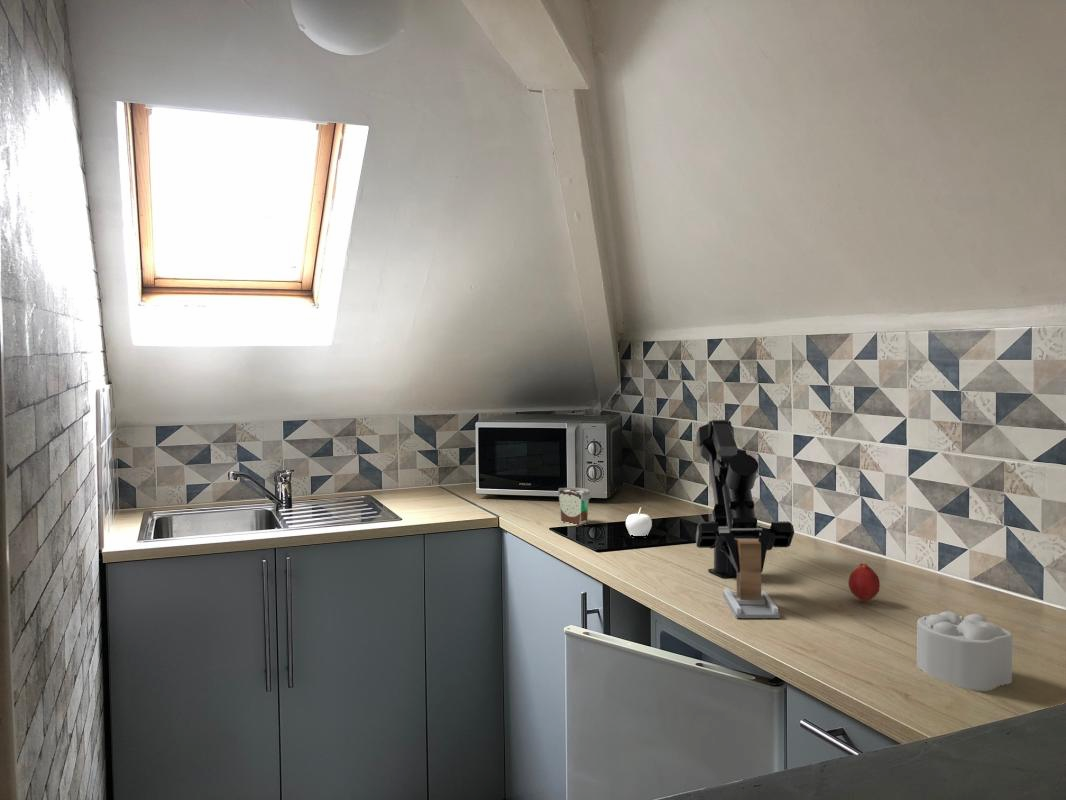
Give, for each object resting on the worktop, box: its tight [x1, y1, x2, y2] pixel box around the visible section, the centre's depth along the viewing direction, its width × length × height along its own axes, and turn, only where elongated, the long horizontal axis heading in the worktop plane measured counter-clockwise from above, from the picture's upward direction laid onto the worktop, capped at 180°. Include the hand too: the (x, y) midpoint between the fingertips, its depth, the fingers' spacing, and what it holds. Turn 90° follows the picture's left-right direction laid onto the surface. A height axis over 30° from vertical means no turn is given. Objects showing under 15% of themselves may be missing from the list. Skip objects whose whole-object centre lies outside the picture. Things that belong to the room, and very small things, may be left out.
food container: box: [557, 487, 592, 525], centre depth 251 cm, size 12×6×10 cm, turn 34°
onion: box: [847, 561, 881, 603], centre depth 168 cm, size 6×6×8 cm
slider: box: [722, 587, 781, 619], centre depth 166 cm, size 15×8×2 cm, turn 177°
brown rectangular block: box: [733, 539, 766, 605], centre depth 167 cm, size 5×5×12 cm
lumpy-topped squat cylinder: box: [916, 610, 1013, 692], centre depth 130 cm, size 10×13×9 cm
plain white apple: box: [625, 507, 653, 536], centre depth 231 cm, size 7×7×8 cm
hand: (750, 571), depth 165 cm, fingers closed on brown rectangular block, 4 cm apart
